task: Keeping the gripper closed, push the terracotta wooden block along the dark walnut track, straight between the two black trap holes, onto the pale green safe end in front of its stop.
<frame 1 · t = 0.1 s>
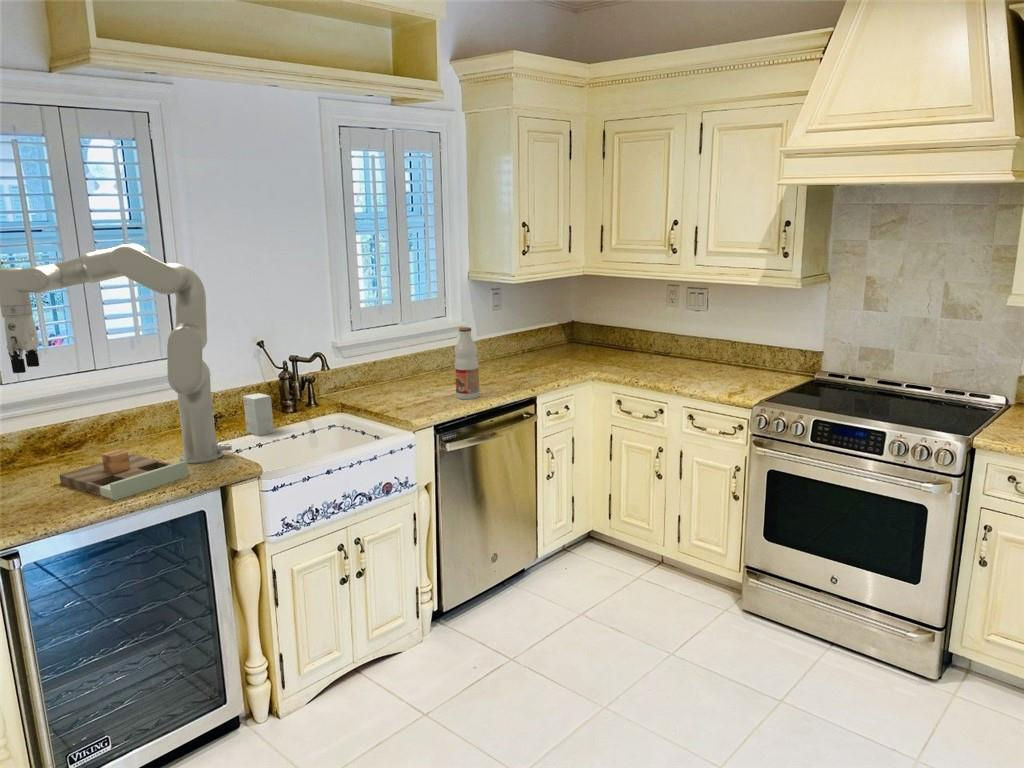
hand: (26, 369, 224), 31 cm above the worktop, tool pointing down, fingers open, 9 cm apart
safe end: (144, 485, 215), on the worktop
small box: (260, 432, 266), on the worktop
fruit juice: (468, 397, 309), on the worktop
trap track: (125, 479, 221), on the worktop
block: (117, 469, 222), point 2 cm above the worktop, touching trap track
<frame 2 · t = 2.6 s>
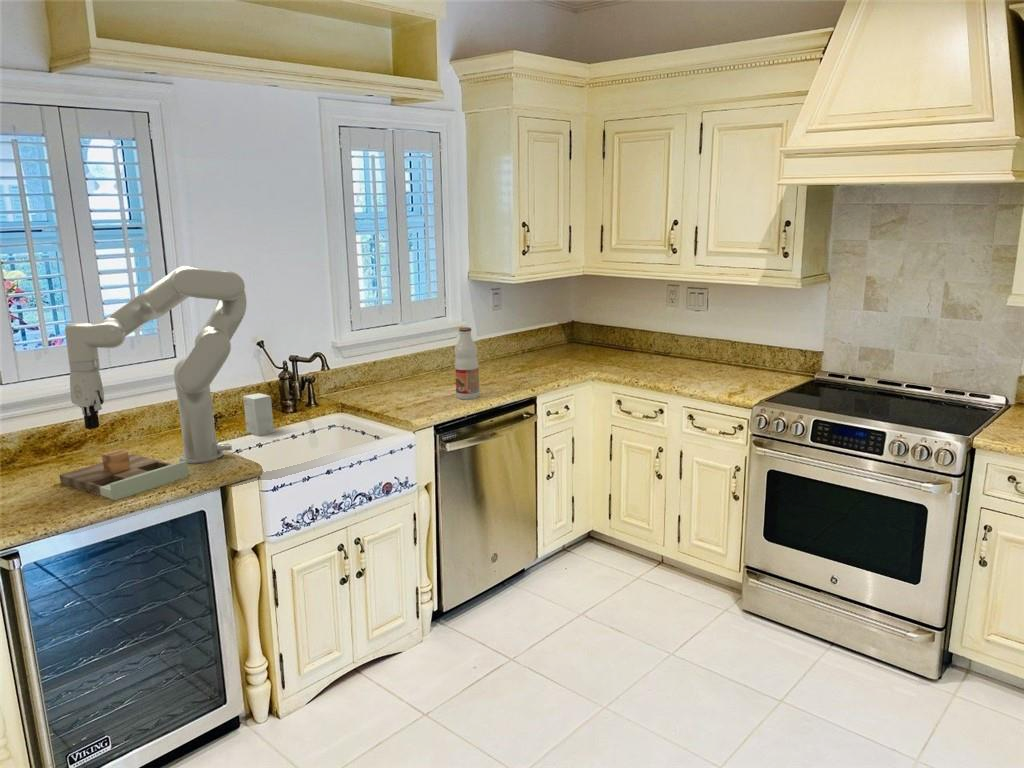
hand: (92, 427, 224), 14 cm above the worktop, tool pointing down, fingers closed
nothing on the worktop moved.
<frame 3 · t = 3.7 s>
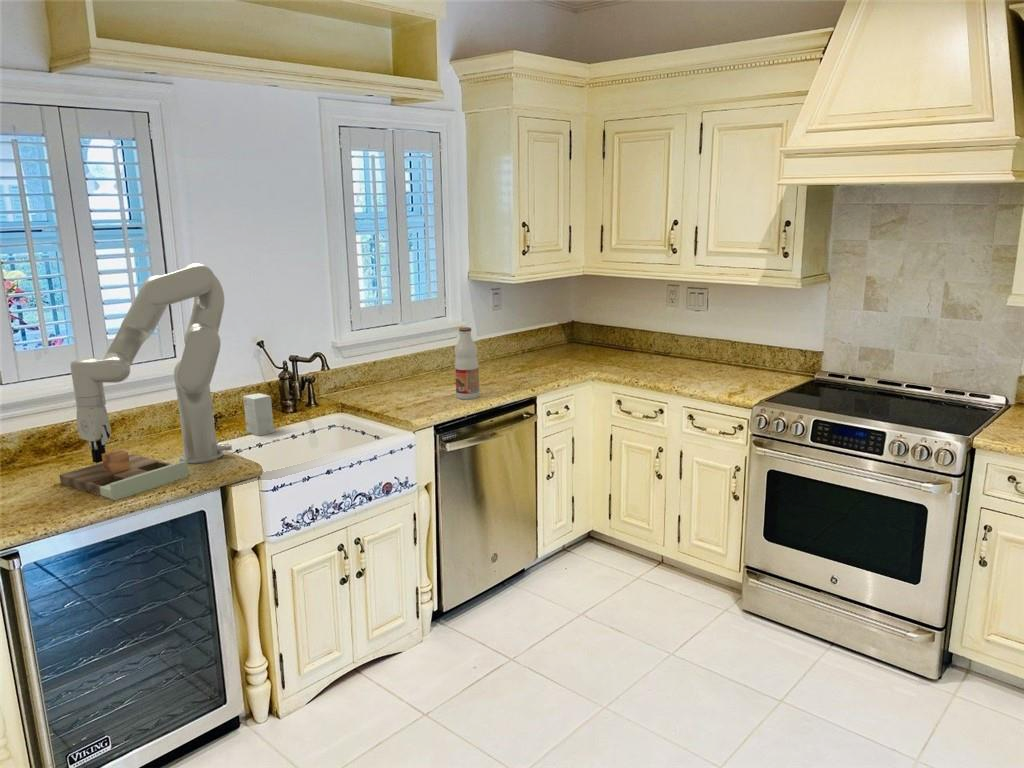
hand: (99, 461, 227), 4 cm above the worktop, tool pointing down, fingers closed
nothing on the worktop moved.
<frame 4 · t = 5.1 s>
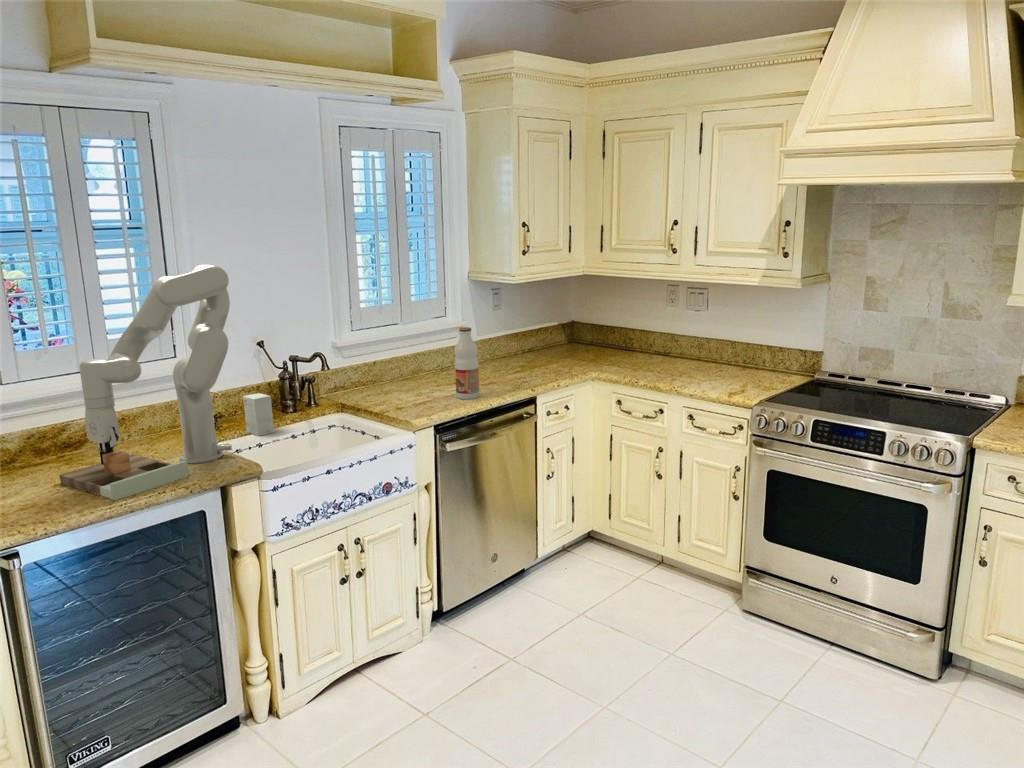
hand: (108, 463, 224), 4 cm above the worktop, tool pointing down, fingers closed
block: (118, 470, 221), point 3 cm above the worktop, touching gripper, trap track
everything else where it was.
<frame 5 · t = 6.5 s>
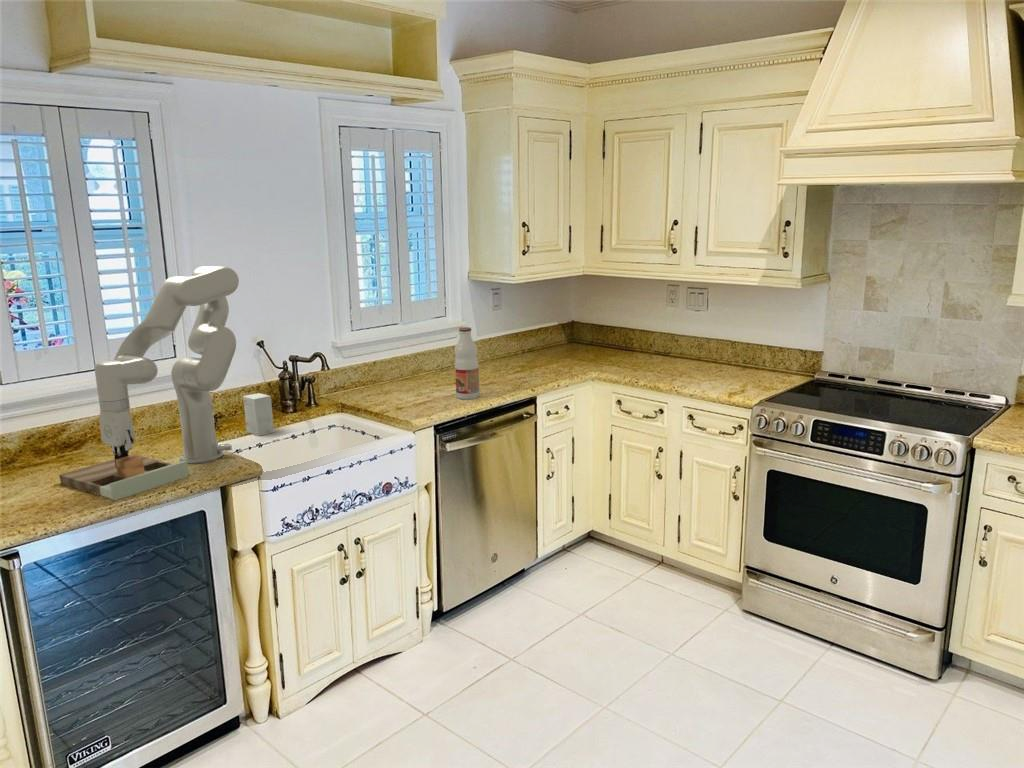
hand: (122, 467, 219), 4 cm above the worktop, tool pointing down, fingers closed
block: (131, 475, 216), point 3 cm above the worktop, touching gripper
everything else where it was.
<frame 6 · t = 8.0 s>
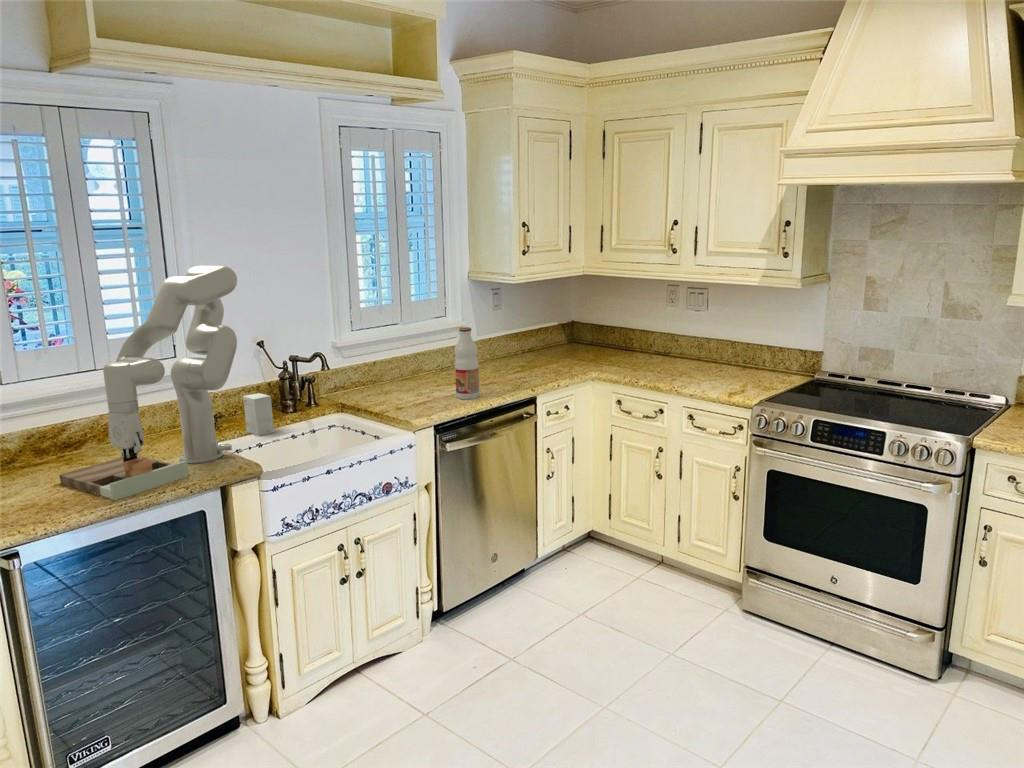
hand: (131, 469, 217), 4 cm above the worktop, tool pointing down, fingers closed
block: (139, 478, 214), point 2 cm above the worktop, touching gripper, safe end
everything else where it was.
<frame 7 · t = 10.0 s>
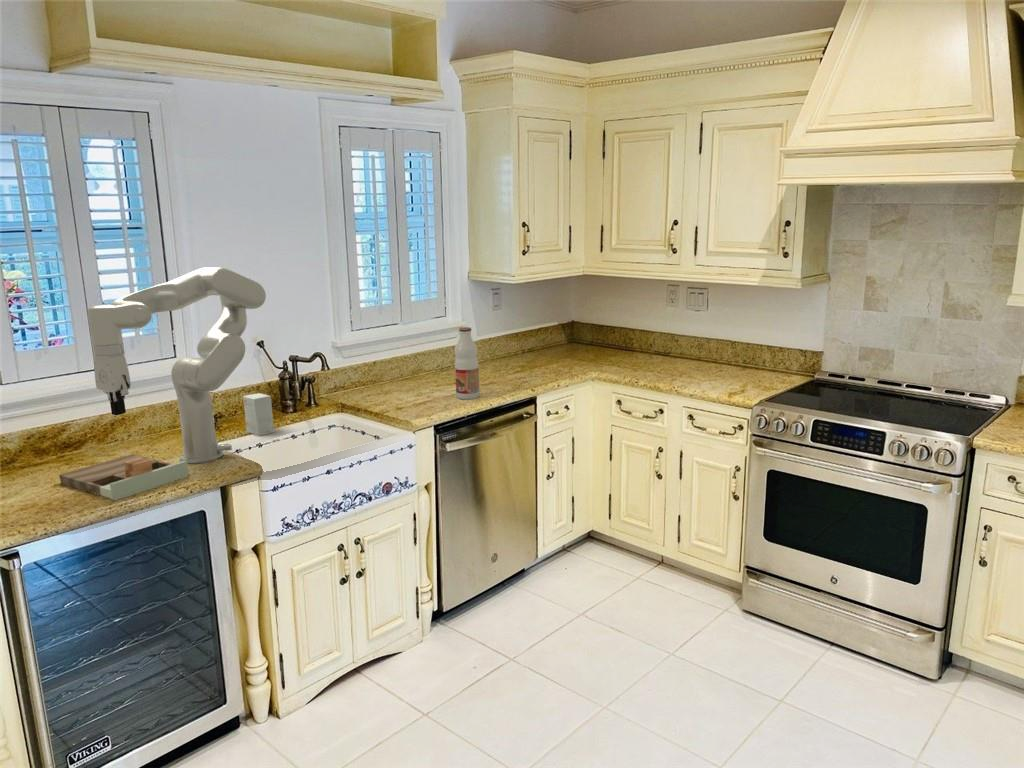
hand: (119, 413, 217), 19 cm above the worktop, tool pointing down, fingers closed
block: (139, 478, 214), point 2 cm above the worktop, touching safe end
everything else where it was.
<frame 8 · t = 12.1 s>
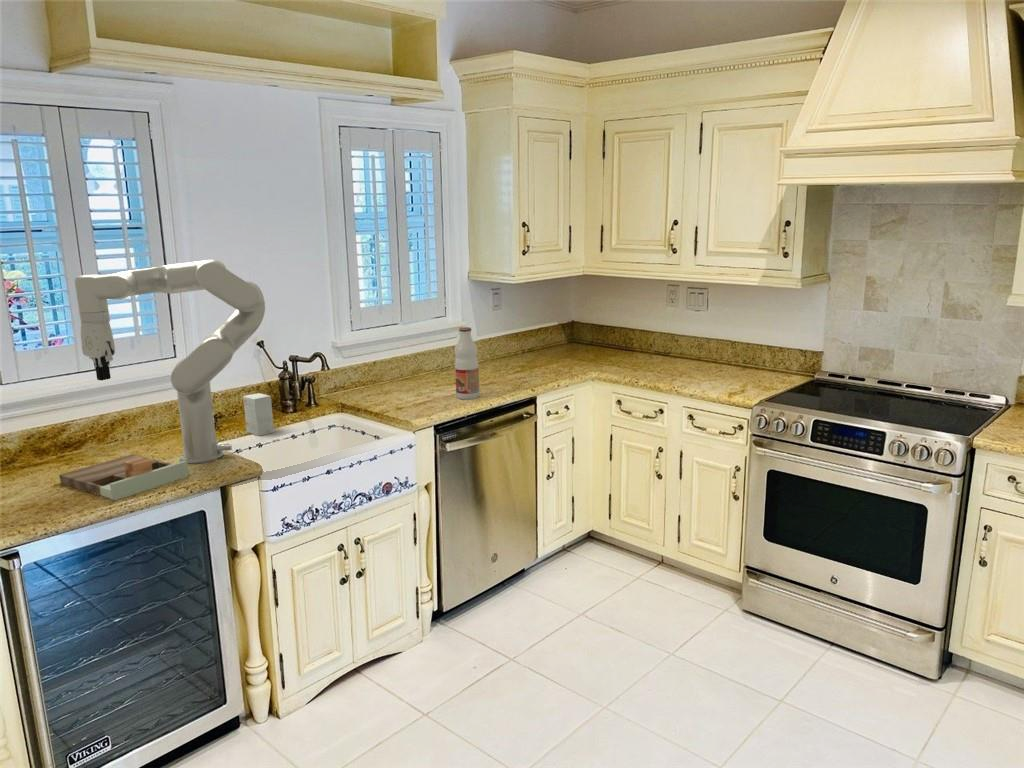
hand: (104, 379, 227), 27 cm above the worktop, tool pointing down, fingers closed
nothing on the worktop moved.
at the end: block 1.2 cm from the safe end (horizontally); block point 2.5 cm above the worktop; block tilted 0° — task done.
